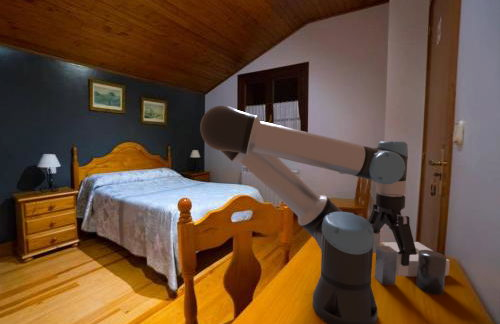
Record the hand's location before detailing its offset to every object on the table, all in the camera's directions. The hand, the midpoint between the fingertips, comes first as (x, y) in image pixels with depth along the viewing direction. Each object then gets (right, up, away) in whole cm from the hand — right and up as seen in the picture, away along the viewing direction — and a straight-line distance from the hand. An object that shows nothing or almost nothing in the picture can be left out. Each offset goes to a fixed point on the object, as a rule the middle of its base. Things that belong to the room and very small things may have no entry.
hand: (387, 262), depth 74 cm
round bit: (+11, -6, -3) cm, 13 cm away
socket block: (+14, -5, +10) cm, 18 cm away
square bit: (0, -6, +1) cm, 6 cm away
